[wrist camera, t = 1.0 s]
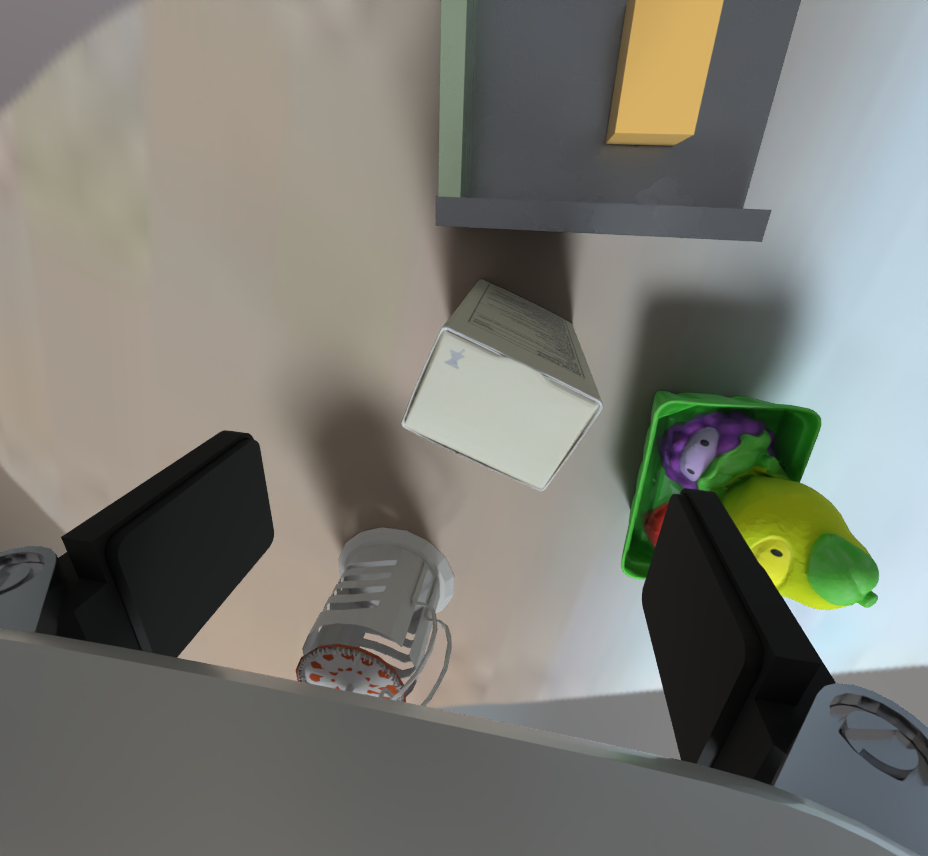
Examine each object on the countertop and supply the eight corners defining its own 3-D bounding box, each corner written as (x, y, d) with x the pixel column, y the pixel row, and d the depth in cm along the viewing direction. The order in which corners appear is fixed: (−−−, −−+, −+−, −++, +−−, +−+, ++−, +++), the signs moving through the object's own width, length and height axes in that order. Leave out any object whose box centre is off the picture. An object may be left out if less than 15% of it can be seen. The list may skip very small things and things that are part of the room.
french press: (315, 551, 37) (-41, 1073, 14) (430, 501, 33) (187, 1113, 10) (383, 632, 40) (175, 1172, 17) (496, 594, 36) (419, 1235, 13)
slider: (703, 0, 18) (732, -39, 15) (673, 145, 20) (693, 134, 17) (626, 1, 18) (641, -36, 16) (605, 144, 21) (615, 132, 18)
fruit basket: (637, 367, 26) (695, 460, 16) (800, 377, 25) (974, 485, 15) (607, 524, 31) (638, 671, 21) (743, 539, 30) (845, 702, 20)
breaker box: (815, -107, 17) (897, -205, 13) (723, 237, 23) (761, 241, 19) (462, -93, 19) (440, -175, 15) (453, 224, 25) (435, 225, 21)
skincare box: (450, 342, 27) (388, 425, 16) (480, 275, 25) (433, 318, 15) (543, 388, 28) (543, 499, 17) (580, 325, 26) (608, 405, 15)
